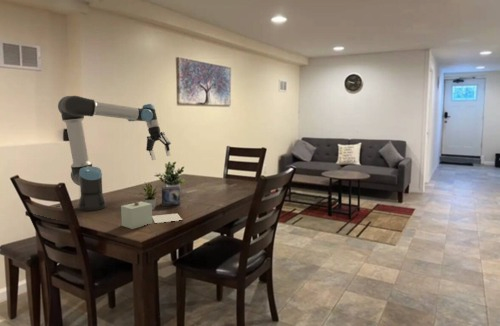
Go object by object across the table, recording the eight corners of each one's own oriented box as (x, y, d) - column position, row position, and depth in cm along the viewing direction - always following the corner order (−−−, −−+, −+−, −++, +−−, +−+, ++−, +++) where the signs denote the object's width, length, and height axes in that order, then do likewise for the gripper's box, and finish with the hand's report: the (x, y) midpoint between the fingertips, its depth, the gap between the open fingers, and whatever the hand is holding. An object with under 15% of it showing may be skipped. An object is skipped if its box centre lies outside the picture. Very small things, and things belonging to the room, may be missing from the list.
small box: (162, 206, 216) (161, 189, 215) (161, 203, 222) (161, 187, 221) (180, 205, 219) (179, 188, 217) (179, 202, 225) (178, 186, 224)
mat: (155, 223, 183) (155, 222, 183) (151, 216, 195) (151, 215, 195) (182, 220, 189) (182, 219, 189) (177, 214, 200) (177, 213, 200)
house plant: (131, 208, 211) (130, 180, 209) (152, 204, 221) (152, 177, 218) (143, 213, 201) (142, 184, 199) (165, 209, 210) (164, 181, 208)
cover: (132, 229, 174) (131, 206, 173) (121, 225, 180) (120, 203, 178) (152, 223, 184) (151, 201, 182) (142, 220, 189) (141, 198, 187)
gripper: (170, 122, 240) (178, 153, 241) (144, 131, 252) (151, 160, 253) (163, 122, 234) (171, 154, 234) (136, 131, 246) (144, 162, 246)
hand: (161, 157), depth 243 cm, fingers open, 13 cm apart
